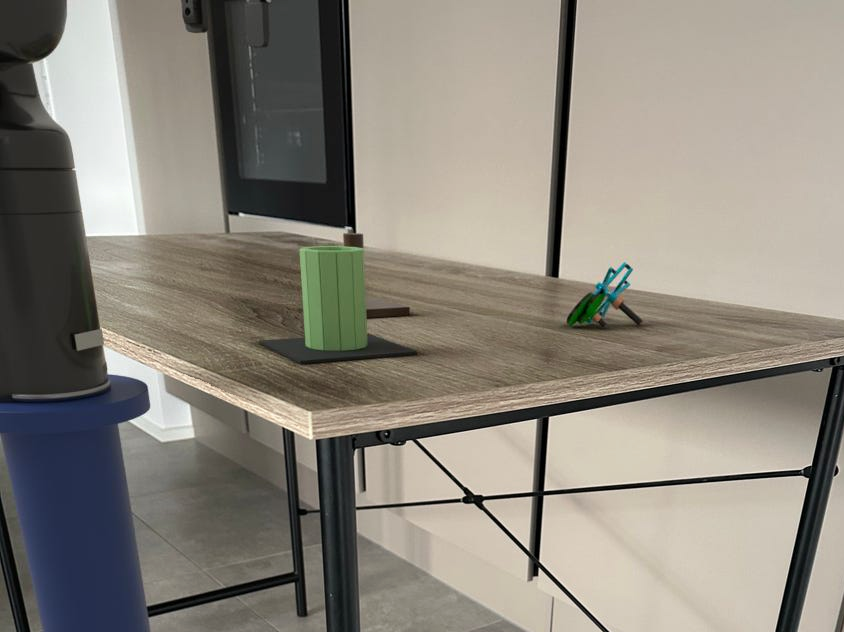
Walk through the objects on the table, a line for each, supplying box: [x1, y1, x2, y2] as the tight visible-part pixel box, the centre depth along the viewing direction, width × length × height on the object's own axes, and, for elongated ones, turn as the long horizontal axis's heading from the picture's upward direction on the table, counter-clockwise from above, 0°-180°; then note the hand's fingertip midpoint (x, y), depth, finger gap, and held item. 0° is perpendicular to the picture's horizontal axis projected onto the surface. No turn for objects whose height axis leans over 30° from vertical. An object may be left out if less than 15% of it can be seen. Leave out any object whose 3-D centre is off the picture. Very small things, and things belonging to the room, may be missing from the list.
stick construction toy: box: [565, 261, 643, 328], centre depth 110 cm, size 12×7×8 cm
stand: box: [342, 232, 411, 319], centre depth 115 cm, size 10×10×9 cm
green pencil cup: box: [299, 245, 368, 351], centre depth 92 cm, size 6×6×9 cm
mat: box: [258, 332, 418, 365], centre depth 94 cm, size 12×12×1 cm
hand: (229, 40), depth 91 cm, fingers open, 8 cm apart
